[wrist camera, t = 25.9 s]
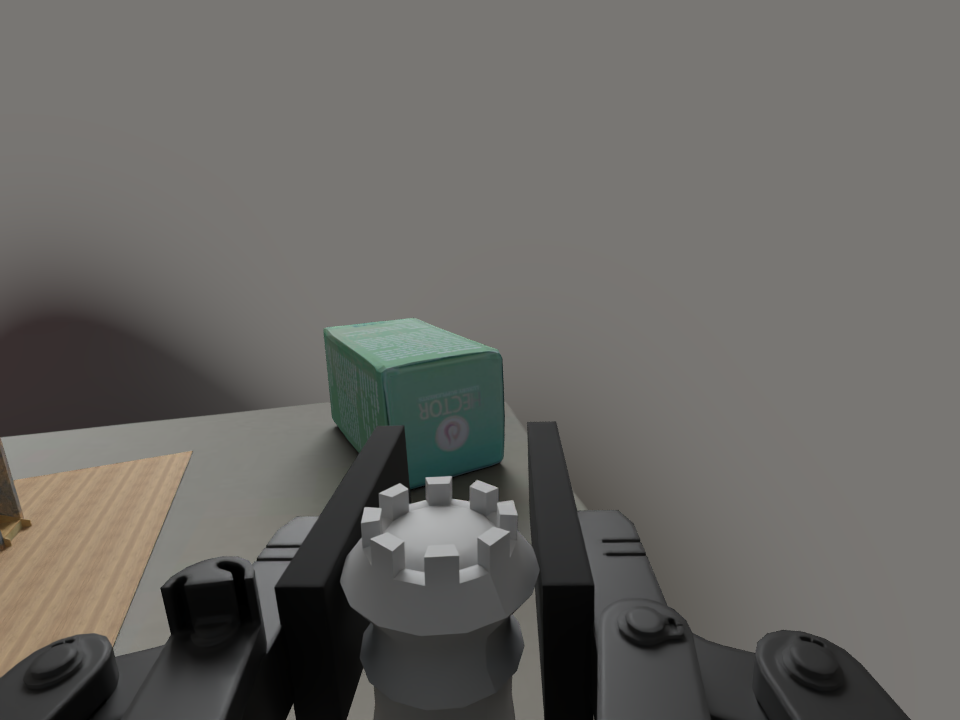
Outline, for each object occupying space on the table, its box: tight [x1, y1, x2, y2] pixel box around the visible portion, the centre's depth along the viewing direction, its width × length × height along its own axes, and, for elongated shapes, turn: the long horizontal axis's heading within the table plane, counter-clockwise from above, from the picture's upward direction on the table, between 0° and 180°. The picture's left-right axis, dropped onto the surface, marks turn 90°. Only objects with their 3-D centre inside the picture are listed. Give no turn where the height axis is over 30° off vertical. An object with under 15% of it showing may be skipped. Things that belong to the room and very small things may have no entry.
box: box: [324, 318, 505, 489], centre depth 35 cm, size 7×14×8 cm, turn 29°
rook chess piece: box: [340, 476, 540, 720], centre depth 10 cm, size 4×4×8 cm
